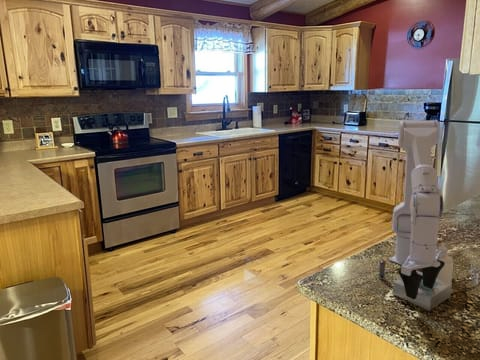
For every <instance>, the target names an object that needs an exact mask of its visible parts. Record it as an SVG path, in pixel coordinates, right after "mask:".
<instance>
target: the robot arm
mask: <svg viewBox="0 0 480 360" xmlns="http://www.w3.org/2000/svg"><path fill="white" fill-rule="evenodd" d="M397 133H398V134H397V135H398V139H397V144H398V147H399V148H400V149H403V150H404V152H405V169H404V171H405V174H404V186H403V187H404V190H403V201H402V202H401V203H399V204H397V205H395V206H394V208H393V209H392V210H393V211H392V216H391V228H392V232H393V233H396V237H395V252H394V253H395V254H394V255H393V256H392V257H389V259H388V260H389V261H390V262H393V263H395V264H398V265H401V267H399V268H398V269H397V270H398V271H397V273H398V275H399V276H400V277H401V279H402V281H403V283H404V287H405V291H406V296H407V297H409V298H411V299H416V297H417V294H418V289H419V285H420V283H421V281H422V279H423V286H425V287H427V288H430V289H432V288H433V286H434V284H435V281H436V278H437V276H438V274H439V272H440V270H441V269H442V268H443V267H444V265H445V263H444V262H443V261H440V260H438V259H440V258H441V254H442V251H440V250H437V247H438V235H439V225H440V218H442V216H443V213H444V208H445V207H444V206H445V205H444V202H445V201H444V197H443V192H442V190H441V189H440V188H439V183H438V182H439V181H438V172H437V169H436V168H434V167H433V166H432V163H431V161H432V148H433V147H434V146H436V144H437V142H438V141H439V140H440V135H441V134H440V133H441V125H440V122H439V121H438V120H437V119H434V120H401V121H400V122H399V124H398V132H397ZM420 269H421V272H422V275H423V276H422V275H419V274H417V273H418V272H416V271H417V270H420ZM400 277H399V278H400Z"/></svg>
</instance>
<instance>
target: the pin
mask: <svg viewBox="0 0 480 360" xmlns="http://www.w3.org/2000/svg"><path fill="white" fill-rule="evenodd" d="M378 263H379V273H378V274H379V275H378V278H379V277H381V278H384V279H385V270H386V263H387V262H386V260H383V259H379V261H378Z"/></svg>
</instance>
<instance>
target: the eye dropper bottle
mask: <svg viewBox="0 0 480 360" xmlns="http://www.w3.org/2000/svg"><path fill="white" fill-rule="evenodd" d="M437 250H440V251H442V254H441V258H440V259H438V260H440V261H443V262H444V263H445V265H444V267H443V268H442V269H441V270H440V272H439V274H438V276H437V278H438V279H440V280H443V281H445V282H448V283H451V284H453V283H452V281H453V273H454V272H453V270H454V260H453V258H452V257H451V256H449V255H448V247H446V244H445V242H441V243H440V246H437Z"/></svg>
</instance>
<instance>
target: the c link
mask: <svg viewBox="0 0 480 360" xmlns="http://www.w3.org/2000/svg"><path fill="white" fill-rule="evenodd" d="M416 272H418V273H417V274H419V275H422V271H419V270H416ZM422 276H423V275H422ZM419 287H420V288H422V289H425V290H427V291H428V292H426V291H424V290H422V289H418V294H417V297H416V299H411V298H409V297H407V296H406V291H405V287H404V283H403V281H402V279H401V277H398V278H397V279H395V280H393V281H392V290H391V291H392V295H395V297H398V296H399V297H398V298H400V297H401V299H402V298H403V300H404V299H405V301H406V300H408V301H407V302H409V301H410V302H409V303H411V302H412V303H411V304H413V303H414V304H413V305H415V304H416V306H417V305H419V306H418V307H420V306H421V307H420V308H422V307H423V309H424V308H425V309H424V310H426V309H427V310H426V311H428V310H429V311H431V310H433V309H435V308H436V307H437V306H439V305H441V304H442V303H443V302H444V301H446V300H448V299H449V298H450V297H451V296H452V287H453V283H448V282H445V281H443V280H440V279H438V278H436V281H435V284H434V286H433V288H432V289H430V288H427V287H425V286H423V279H422V281H421V283H420V285H419Z"/></svg>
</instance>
